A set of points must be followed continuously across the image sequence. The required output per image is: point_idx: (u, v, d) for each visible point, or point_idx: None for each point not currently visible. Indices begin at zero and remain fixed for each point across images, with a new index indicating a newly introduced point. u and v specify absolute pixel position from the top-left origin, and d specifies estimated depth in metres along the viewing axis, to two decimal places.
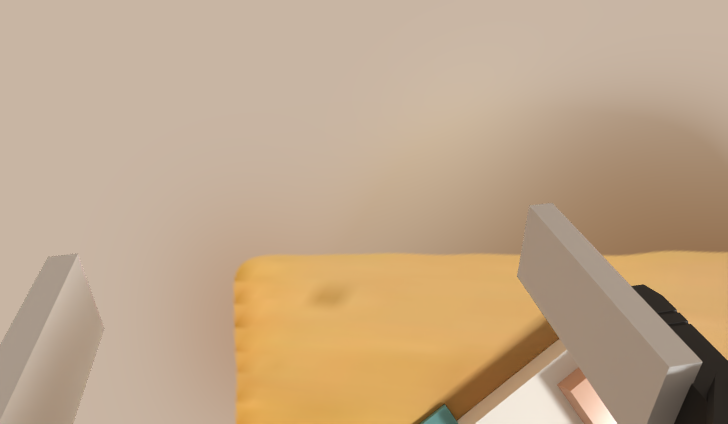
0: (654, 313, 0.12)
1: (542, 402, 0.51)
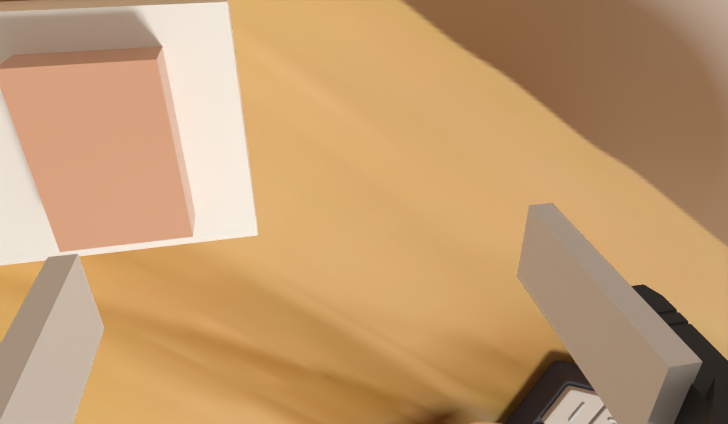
0: (654, 313, 0.12)
1: None
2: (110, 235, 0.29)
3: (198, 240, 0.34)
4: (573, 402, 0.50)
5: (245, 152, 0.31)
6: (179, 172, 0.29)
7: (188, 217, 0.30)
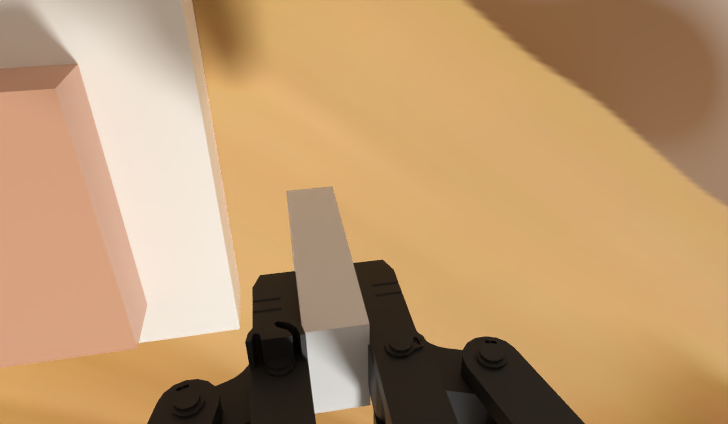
0: (355, 283, 0.13)
1: None
2: (8, 351, 0.19)
3: (153, 338, 0.23)
4: None
5: (218, 218, 0.21)
6: (110, 260, 0.18)
7: (128, 322, 0.20)
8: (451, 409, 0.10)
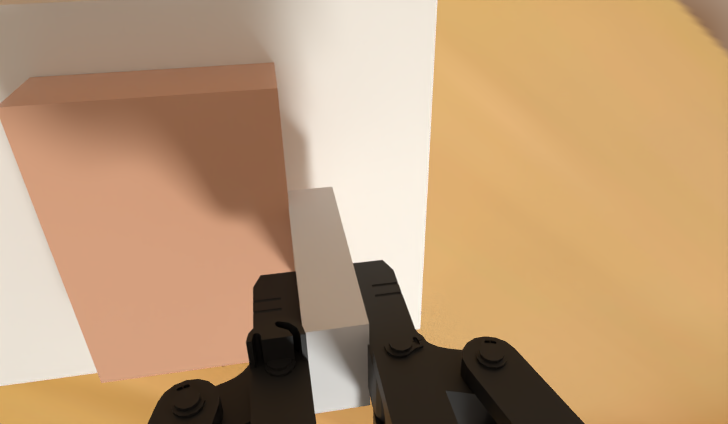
0: (355, 283, 0.13)
1: None
2: (179, 357, 0.19)
3: None
4: None
5: (423, 217, 0.21)
6: None
7: None
8: (451, 409, 0.10)
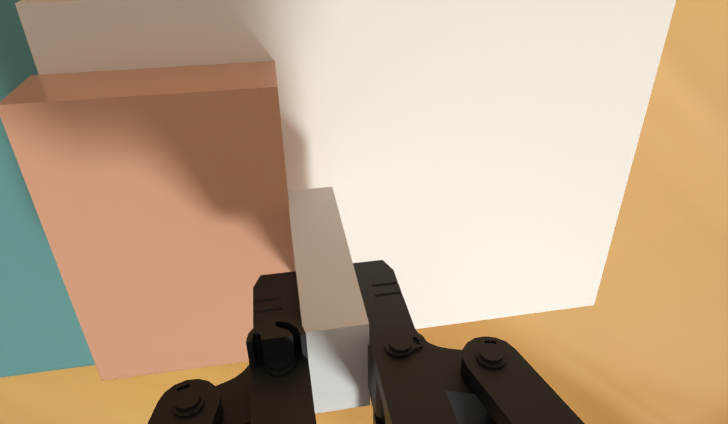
0: (355, 282, 0.13)
1: (296, 75, 0.17)
2: (180, 355, 0.19)
3: (518, 312, 0.24)
4: None
5: (621, 195, 0.22)
6: None
7: None
8: (451, 409, 0.10)
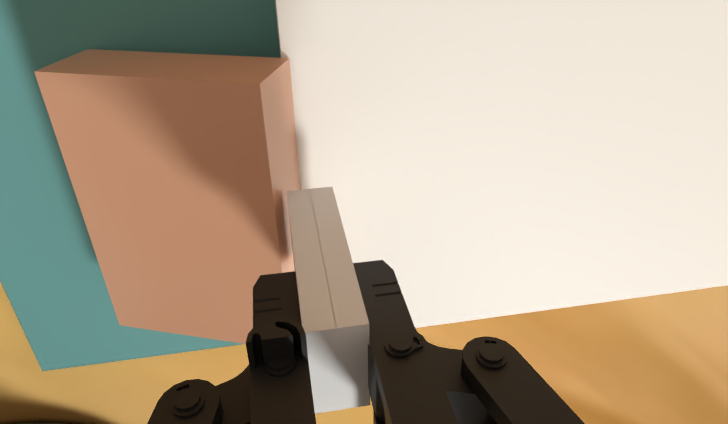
0: (355, 283, 0.13)
1: (506, 60, 0.18)
2: (181, 321, 0.20)
3: (659, 292, 0.25)
4: None
5: None
6: (281, 260, 0.18)
7: None
8: (451, 409, 0.10)
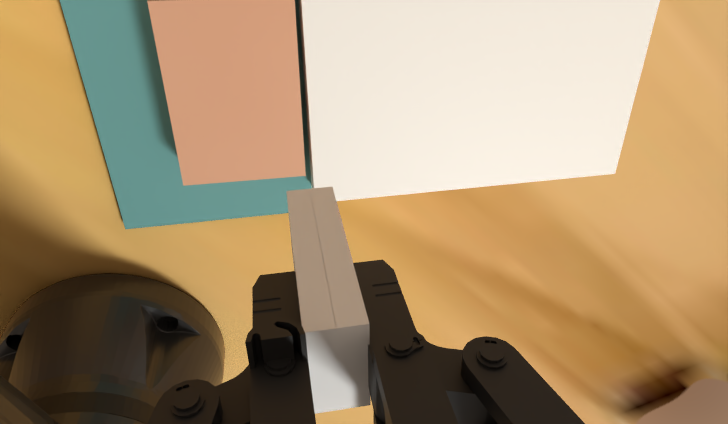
0: (355, 283, 0.13)
1: None
2: (231, 171, 0.31)
3: (564, 176, 0.35)
4: None
5: (635, 89, 0.33)
6: (301, 110, 0.30)
7: (303, 156, 0.31)
8: (451, 409, 0.10)
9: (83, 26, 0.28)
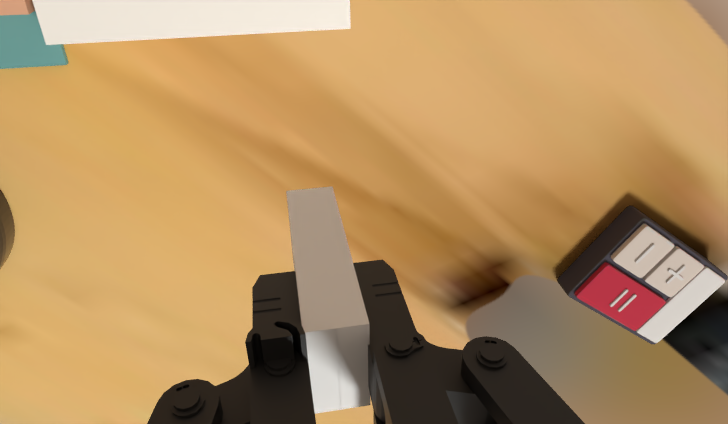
0: (355, 282, 0.13)
1: None
2: None
3: (298, 29, 0.37)
4: (645, 241, 0.53)
5: None
6: None
7: None
8: (451, 409, 0.10)
9: None
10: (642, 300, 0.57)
